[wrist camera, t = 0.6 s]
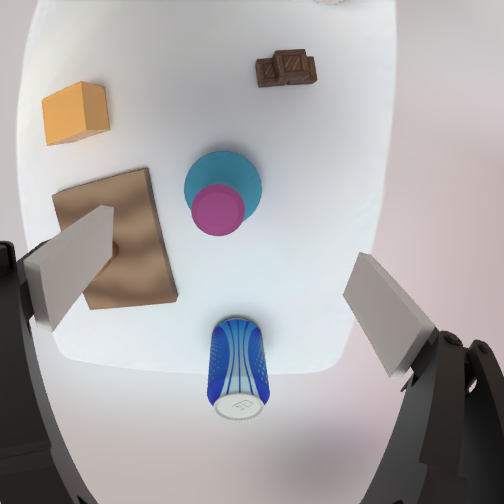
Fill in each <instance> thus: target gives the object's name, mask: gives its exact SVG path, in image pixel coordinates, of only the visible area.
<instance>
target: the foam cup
mask: <svg viewBox="0 0 504 504" xmlns="http://www.w3.org/2000/svg"><path fill="white" fill-rule="evenodd" d="M315 1H317V2H319V3H322V4H326V5H336V4H338V3H340V2H342V1H344V0H315Z"/></svg>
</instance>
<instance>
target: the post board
mask: <svg viewBox="0 0 504 504" xmlns="http://www.w3.org/2000/svg"><path fill="white" fill-rule="evenodd" d="M52 199H53V203H54V207H55V211H56V215H57V218H58V222H59V225H60V229H61V232H62V231H63V230H65V229H66V228H67V227H69V226H70V225H72V224H73V223H75V222H76V221H78V220H79V219H81V218H82V217H84V216H85V215H87V214H88V213H90V212H91V211H93V210H94V209H96V208H97V207H99V206H100V205H103V206H109V207H114V212H113V236H112V257H111V258H110V259H109V260H108V262H107V263H106V264H105V265H104V266H103V268H102V269H101V270H100V271H99V272H98V274H97V275H96V276H95V277H94V278H93V280H92V281H91V282H90V283H89V285H88V286H87V287H86V288H85V290H84V291H83V294H84V297H85V299H86V302H87V304H88V306H89V308H90V310H94V309H107V308H120V307H131V306H142V305H153V304H163V303H172V302H176V300H177V297H178V293H177V290H176V286H175V283H174V279H173V275H172V272H171V268H170V264H169V260H168V257H167V253H166V249H165V245H164V241H163V236H162V232H161V228H160V224H159V219H158V215H157V210H156V206H155V201H154V196H153V191H152V186H151V181H150V176H149V171H148V168H145V169H141V170H137V171H133V172H128V173H124V174H120V175H116V176H113V177H109V178H105V179H101V180H98V181H94V182H91V183H87V184H84V185H81V186H77V187H74V188H71V189H67V190H64V191H61V192H58V193H56V194H54V195H52Z"/></svg>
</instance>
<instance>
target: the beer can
mask: <svg viewBox="0 0 504 504" xmlns="http://www.w3.org/2000/svg"><path fill="white" fill-rule="evenodd" d="M207 396H208V399H209V401H210V403H211V404H212V406H213V409H214V412H215V413H216V414H217V415H218V416H219V417H221V418H223V419H226V420H229V421H235V422H240V421H241V422H242V421H248V420H252V419H254V418H256V417H258V416H260V415H261V414H262V412H263V411H264V405H265V404H266V403H267V401H268V399H269V396H270V391H269V383H268V377H267V369H266V361H265V354H264V347H263V339H262V333H261V331H260V329H259V328H258V327H257V326H256V325H255V324H254V323H252V322H250V321H248V320H246V319H242V318H231V319H228V320H226V321H224V322H222V323H220V324H219V325H218V326H217V327H216V328H215V329H214V331H213V333H212V339H211V350H210V362H209V375H208V388H207Z"/></svg>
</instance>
